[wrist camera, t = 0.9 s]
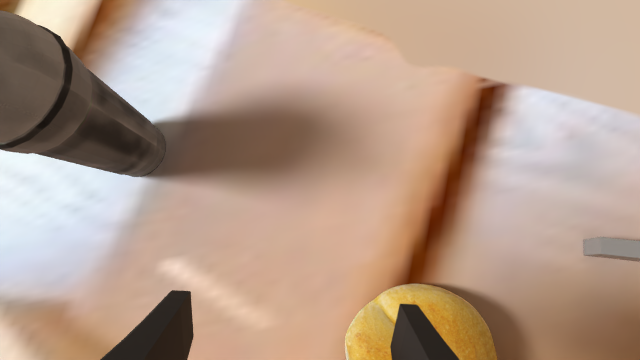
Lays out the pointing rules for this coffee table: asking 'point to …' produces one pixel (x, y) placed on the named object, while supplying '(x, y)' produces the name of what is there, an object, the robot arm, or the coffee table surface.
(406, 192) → the coffee table surface
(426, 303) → the bread roll
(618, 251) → the frame
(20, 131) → the beverage cup
